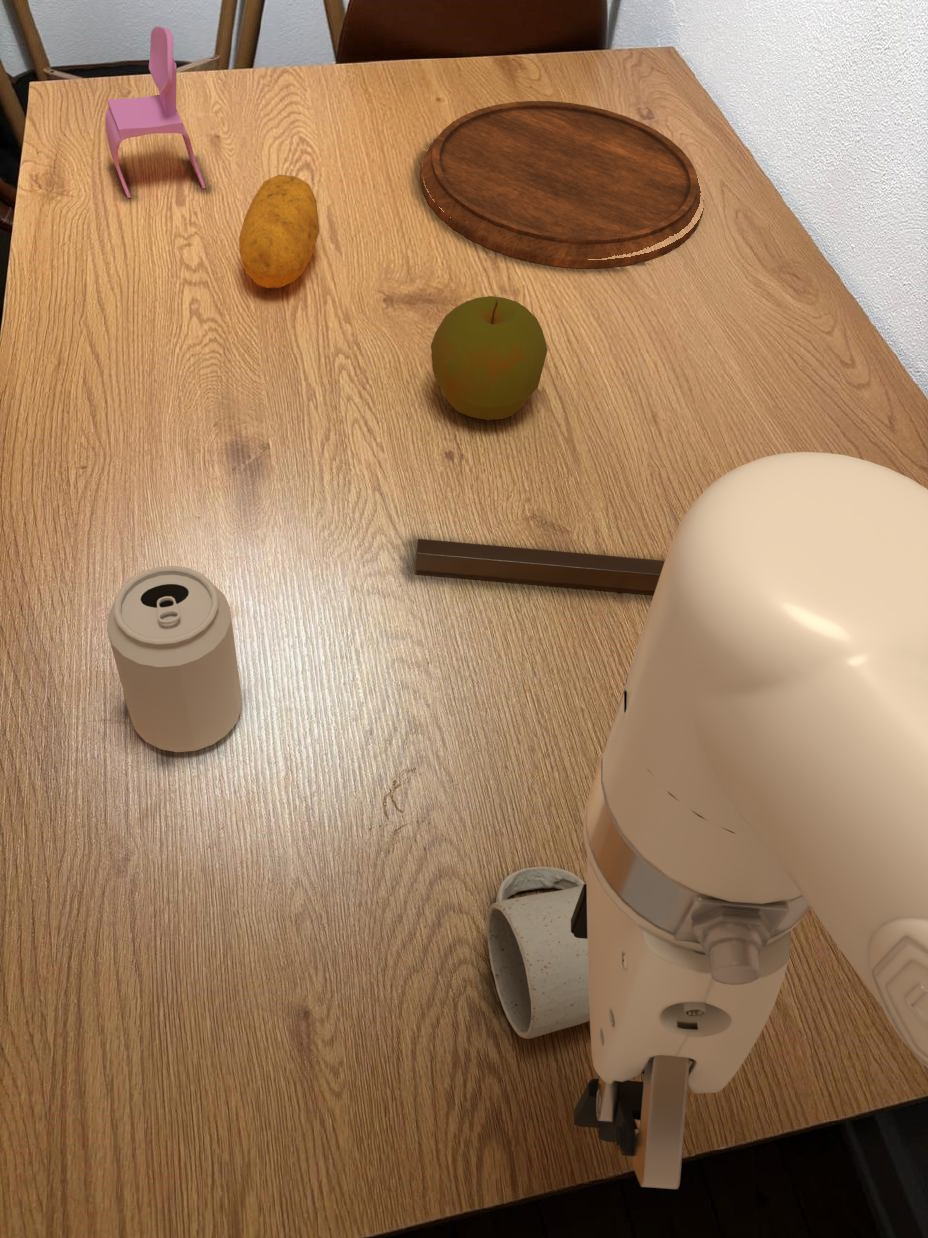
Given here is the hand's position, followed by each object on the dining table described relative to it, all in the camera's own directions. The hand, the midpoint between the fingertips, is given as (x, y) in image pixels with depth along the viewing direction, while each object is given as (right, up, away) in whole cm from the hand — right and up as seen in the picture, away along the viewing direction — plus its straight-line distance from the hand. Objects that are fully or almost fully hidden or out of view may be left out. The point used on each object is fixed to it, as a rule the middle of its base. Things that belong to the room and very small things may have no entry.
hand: (608, 1021), depth 47 cm
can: (-25, +10, +29) cm, 40 cm away
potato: (-24, +52, +64) cm, 86 cm away
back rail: (0, +20, +40) cm, 45 cm away
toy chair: (-39, +64, +72) cm, 104 cm away
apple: (-4, +36, +53) cm, 64 cm away
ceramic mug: (-1, -4, +20) cm, 21 cm away
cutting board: (+5, +66, +78) cm, 102 cm away
